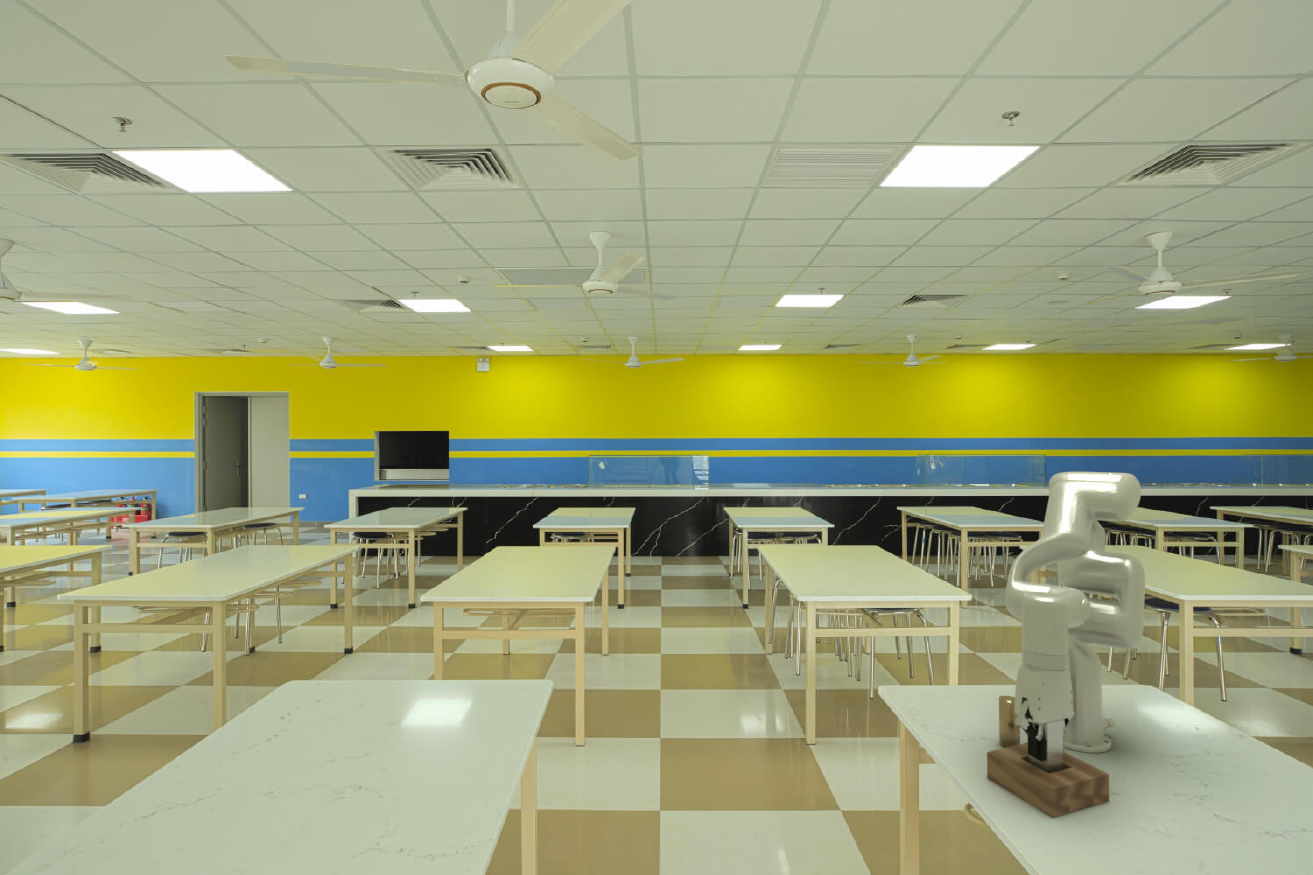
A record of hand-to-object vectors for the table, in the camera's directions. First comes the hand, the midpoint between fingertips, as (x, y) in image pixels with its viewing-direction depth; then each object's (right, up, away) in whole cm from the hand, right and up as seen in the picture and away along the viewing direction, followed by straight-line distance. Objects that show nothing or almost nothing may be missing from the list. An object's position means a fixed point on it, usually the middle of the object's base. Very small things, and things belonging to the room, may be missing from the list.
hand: (1045, 754), depth 121 cm
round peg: (+3, -6, +17) cm, 18 cm away
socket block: (0, -7, 0) cm, 7 cm away
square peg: (0, -3, 0) cm, 3 cm away
